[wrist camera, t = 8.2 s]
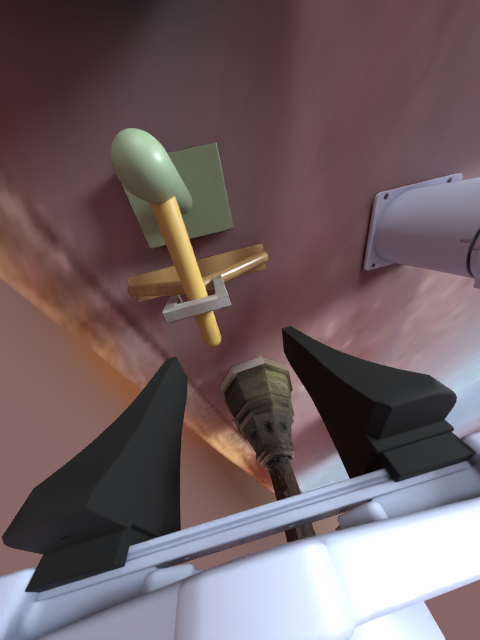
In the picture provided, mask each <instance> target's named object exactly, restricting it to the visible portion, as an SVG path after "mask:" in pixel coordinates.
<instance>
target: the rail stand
mask: <svg viewBox="0 0 480 640" xmlns="http://www.w3.org/2000/svg"><path fill="white" fill-rule="evenodd" d="M111 161H112V165H113V168H114V171H115V173H116V175H117V177H118V179H119V180H120V182H121V185H122V187H123V189H124V191H125V194H126V196H127V198H128V200H129V203H130V205H131V207H132V209H133V212H134V214H135V216H136V218H137V221H138V223H139V225H140V227H141V230H142V232H143V234H144V236H145V239H146V241H147V243H148V245H149V248H150V249H152V248H156V247H160V246H165V245H166V246H167V248H168V251H169V253H170V256H171V258H172V261H173V263H174V266H175V268H176V271H177V273H178V276H179V278H180V281H181V284H182V286H183V289H184V291H185V294H186V296H187V299H188V301H192V300H196V299H199V298H203V297H207V296H208V295H207V292H206V289H205V286H204V283H203V280H202V277H201V273H200V270H199V267H198V264H197V261H196V258H195V255H194V252H193V249H192V246H191V243H190V240H189V239H193V238H197V237H201V236H205V235H209V234H214V233H218V232H222V231H226V230H230V229H233V228H234V227H233V222H232V217H231V212H230V207H229V202H228V197H227V192H226V187H225V182H224V177H223V172H222V167H221V162H220V157H219V152H218V147H217V143H216V142H214V143H209V144H205V145H200V146H196V147H192V148H187V149H183V150H178V151H174V152H169V153H167V152H166V151H165V149H164V148H163V146H162V145H161V144H160V143H159V141H158V140H157V139H155V138H154V137H153V136H152V135H150V134H149V133H147V132H145V131H143V130H140V129H136V128H128V129H124V130H122V131H120V132H119V133H118V134H117V135H116V136H115V138H114V140H113V142H112V145H111ZM195 319H196V321H197V324H198V326H199V329H200V332H201V334H202V337H203V339H204V342H205V344H206V345H207V346H209V347H216V346H218V345H219V344H220V342H221V335H220V332H219V328H218V325H217V322H216V319H215V316H214V313H213V311H210V312H206V313H203V314H199V315H195Z"/></svg>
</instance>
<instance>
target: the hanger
mask: <svg viewBox="0 0 480 640" xmlns="http://www.w3.org/2000/svg"><path fill="white" fill-rule="evenodd" d="M196 261H197V264H198V267H199V270H200V273H201V277H202V280H203V283H204V286H205V289H206V292H207V291H209V290H211V289H213V288H214V289H215V294H214V295H210V296H207V297H203V298H199V299H196V300H192V301H188V302H184V303H183V302H182V299H181V297H180V295H186V294H185V291H184V289H183V286H182V284H181V281H180V278H179V276H178V273H177V271H176V268H175V266H170V267H166V268H162V269H158V270H154V271H150V272H146V273H142V274H138V275H134V276H130V277H128V278H127V279H126V280H127V282H128V283H129V285H130V286H129V287H128V289H127V291H128V294H129V295H130V296H132V297H136V298H137V299H138V301H139V302H142V301H146V300H150V299H154V298H157V297H161V296H171V295H176V296H172V297H170V298H169V300H168V302H167V304H166V306H165V308H164V310H163V312H162V314H163V316H164V318H165V320H166V322H167V323H170V322H173V321H177V320H181V319H184V318H188V317H192V316H195V315H199V314H203V313H206V312H210V311H214V310H217V309H221V308H225V307H229V306H231V303H230V299H229V295H228V293H227V290H226V287H225V284H224V283H225V282H227V281H229V280H231V279H233V278H235V277H237V276H241V275H245V274H248V273H252V272H256V271H260V270H264V269H266V266H265V263H266V262H267V261H268V254H267V253H266V252H265V251H263V244H256V245H252V246H248V247H244V248H241V249H237V250H233V251H229V252H225V253H221V254H217V255H213V256H209V257H205V258H201V259H197V260H196Z"/></svg>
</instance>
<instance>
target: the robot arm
mask: <svg viewBox="0 0 480 640" xmlns="http://www.w3.org/2000/svg"><path fill="white" fill-rule="evenodd" d="M384 195H385V198H384ZM394 263H400V264H405V265H410V266H415V267H420V268H425V269H430V270H435V271H440V272H445V273H450V274H455V275H460V276H465V277H470V278H475V283H474V287H475V288H479V289H480V177H478V178H472V179H467V180H462V173H457V174H453V175H449V176H444V177H440V178H436V179H432V180H428V181H424V182H420V183H416V184H412V185H408V186H404V187H400V188H395V189H391V190H387V191H383V192H379V193H378V194H377V195H376V196H375V198H374V203H373V209H372V216H371V222H370V228H369V235H368V241H367V248H366V254H365V260H364V267H363V268H364V270H372V269H375V268H379V267H383V266H387V265H391V264H394ZM372 264H373V265H372ZM371 265H372V266H371ZM282 336H283V346H284V353H285V355H286V357H287V359H288V361H289V363H290V365H291V367H292V368H293V370H294V371H295V373H296V374H297V376H298V378H299V379H300V381H301V382H302V384H303V385H304V387H305V388H306V390H307V391H308V393H309V395H310V397H311V398H312V400H313V402H314V404H315V406H316V408H317V410H318V412H319V414H320V416H321V418H322V420H323V422H324V424H325V426H326V428H327V430H328V432H329V434H330V436H331V438H332V440H333V443H334V445H335V447H336V449H337V451H338V453H339V456H340V458H341V460H342V462H343V464H344V467H345V469H346V471H347V473H348V476H349V478H350V479H348V480H345V481H341V482H338V483H335V484H331V485H328V486H325V487H322V488H318V489H315V490H312V491H308V492H305V493H302V494H299V495H295V496H292V497H289V498H286V499H282V500H279V501H276V502H272V503H269V504H266V505H263V506H259V507H256V508H253V509H250V510H246V511H243V512H240V513H236V514H233V515H230V516H227V517H223V518H220V519H217V520H213V521H210V522H207V523H203V524H200V525H197V526H194V527H190V528H187V529H184V530H181V528H180V527H181V526H180V451H181V450H180V449H181V434H182V425H183V419H184V412H185V405H186V398H187V376H186V374H185V372H184V370H183V368H182V367H181V365H180V363H179V361H178V359H177V357H173V358H169V359H167V360H166V361H165V362H164V363H163V365H162V366H161V367H160V369H159V370H158V371H157V373H156V374H155V375H154V377H153V378H152V379H151V381H150V382H149V383H148V384H147V386H146V387H145V388H144V389H143V390H142V392H141V393H140V394H139V395H138V396H137V398H136V399H135V400H134V401H133V402H132V403H131V405H130V406H129V407H128V408H127V409H126V410H125V411H124V412H123V413H122V414H121V415H120V416H119V417H118V418H117V419H116V420H115V421H114V422H113V423H112V424H111V425H110V426H109V427H108V428H107V429H106V430H105V431H104V432H103V433H102V434H100V436H98V437H97V438H96V439H95V440H94V441H93V442H92V443H90V444H89V445H88V446H87V447H86V448H85V449H83V450H82V451H81V452H80V453H79V454H77V455H76V456H75V457H74V458H73V459H71V460H70V461H69V462H68V463H66V464H65V465H64V466H63V467H61V468H60V469H59V470H57V471H56V472H55V473H53V474H52V475H51V476H50V477H48V478H47V479H46V480H44V481H43V482H42V483H40V484H39V485H38V486H36V487H35V488H34V489H33V490H32V492H31V493H30V495H29V497H28V498H27V500H26V501H25V503H24V504H23V506H22V507H21V509H20V510H19V512H18V513H17V515H16V516H15V518H14V519H13V521H12V523H11V524H10V526H9V527H8V529H7V530H6V532H5V533H4V535H3V536H2V539H3V542H4V544H5V545H6V546H8V547H11V548H15V549H19V550H24V551H29V552H34V553H39V554H43V556H42V558H41V560H40V562H39V564H38V566H37V567H34V568H27V569H23V570H19V571H16V572H13V573H9V574H7V575H3V576H0V640H445V638H444V636H443V634H442V633H441V631H440V629H439V627H438V626H437V624H436V622H435V620H434V619H433V617H432V615H431V614H430V612H429V610H428V608H427V607H426V605H425V603H424V601H425V600H427V599H430V598H433V597H435V596H438V595H440V594H443V593H446V592H448V591H451V590H453V589H456V588H459V587H461V586H464V585H467V584H469V583H472V582H475V581H477V580H480V431H478V432H475V433H472V434H469V435H466V436H465V437H463V438H461V439H459V438H458V437H457V436H456V435H455V434H453V433H452V432H451V431H453V430H454V428H453V426H451V425H450V424H449V423H448V422H447V421H445V420H444V419H445V418H446V416H447V415H448V414H449V412H450V411H451V410H452V408H453V407H454V405H455V403H456V399H457V397H456V394H455V393H454V392H453V391H452V390H450V389H449V388H447V387H446V386H444V385H443V384H442V383H440V382H439V381H437V380H436V379H434V378H433V377H431V376H430V375H426V374H421V373H416V372H411V371H406V370H400V369H396V368H392V367H388V366H384V365H380V364H376V363H373V362H369V361H366V360H363V359H360V358H356V357H354V356H351V355H348V354H345V353H343V352H340V351H338V350H335V349H333V348H331V347H329V346H326V345H324V344H322V343H320V342H318V341H316V340H314V339H312V338H311V337H309V336H307V335H305V334H303V333H302V332H300V331H298V330H296V329H295V328H293V327H291V326H289V327H286V328H282ZM347 511H348V512H347ZM344 512H346V513H344ZM340 513H344V514H342V515H340V516H338V522H339V524H340V525H339V526H338V527H337V528H336V529H335V531H333V532H329V533H324V534H320V535H316V536H312V537H308V538H304V539H300V540H296V541H292V542H288V543H285V544H281V545H278V546H275V547H271V548H268V549H265V550H261V551H258V552H255V553H252V554H248V555H245V556H242V557H240V558H237V559H234V560H231V561H228V562H225V563H222V564H220V565H217V566H214V567H212V568H209V569H207V570H206V569H198V568H195V567H193V566H192V564H186V565H179V566H174V565H177V564H181V563H184V562H187V561H190V560H193V559H196V558H200V557H203V556H206V555H209V554H213V553H215V552H219V551H222V550H225V549H228V548H232V547H235V546H238V545H241V544H245V543H248V542H251V541H254V540H257V539H261V538H264V537H267V536H270V535H273V534H277V533H280V532H283V531H286V530H289V529H293V528H296V527H299V526H302V525H305V524H309V523H312V522H315V521H318V520H322V519H324V518H328V517H331V516H334V515H337V514H340ZM171 566H174V567H171Z"/></svg>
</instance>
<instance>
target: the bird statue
mask: <svg viewBox="0 0 480 640" xmlns="http://www.w3.org/2000/svg"><path fill="white" fill-rule="evenodd" d="M291 391H292V385H291V380H290V375H289V371H288V369H287V367H286V366H285V364H283V363H280V362H277V361H274V360H271V359H268V358H266V357H263V356H261V357H258V358H255V359H252V360H249V361H246V362H243V363H240V364H237V365H234V366H232V367H231V369H230V370H229V372H228V373H227V375H226V377H225V378H224V380H223V381H222V383H221V384H220V393H221V395H222V397H223V399H224V401H225V403H226V405H227V406H228V408H229V410H230V412H231V413H232V415H233V416H234V419H233V420H234V422H235V424H236V426H237V428H238V430H239V432H240V433H242V435H243V437H244V438H245V439H248V441H249V443H250V444H251V446H252V447H253V449H254V450H255V452H256V461H257V462H258V463H259V464H260V466H262V467H264V468H267V471H268V472H270V476H271V479H272V483H273V488H274V491H275V495H276V498H277V501H279V500H282V499H286V498H289V497H292V496H295V495H299V494H301V492H300V489H299V486H298V484H297V481H296V478H295V475H294V472H293V469H292V467H291V463H292V461H291V460H292V458H293V457H294V454H295V453H294V452H295V447H294V446H293V444H292V441H291V437H292V435H291V425H292V423H293V416H294V412H293V407H292V403H291ZM285 534H286V538H287V542H292V541H296V540H300V539H304V538H308V537H312V536H316V535H315V532H314V529H313V526H312V523H309V524H305V525H302V526H299V527H296V528H293V529H289V530H286V531H285Z"/></svg>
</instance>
